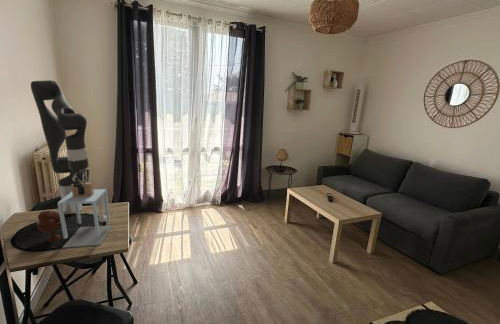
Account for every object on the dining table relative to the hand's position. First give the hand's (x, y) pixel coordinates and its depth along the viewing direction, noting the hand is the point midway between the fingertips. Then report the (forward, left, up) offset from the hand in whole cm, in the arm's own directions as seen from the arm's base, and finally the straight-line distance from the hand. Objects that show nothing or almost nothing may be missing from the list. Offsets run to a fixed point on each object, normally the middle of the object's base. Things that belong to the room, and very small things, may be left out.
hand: (83, 193), depth 120 cm
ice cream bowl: (0, -16, -23) cm, 28 cm away
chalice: (-17, 0, -23) cm, 29 cm away
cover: (0, 0, -19) cm, 19 cm away
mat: (0, 0, -23) cm, 23 cm away
